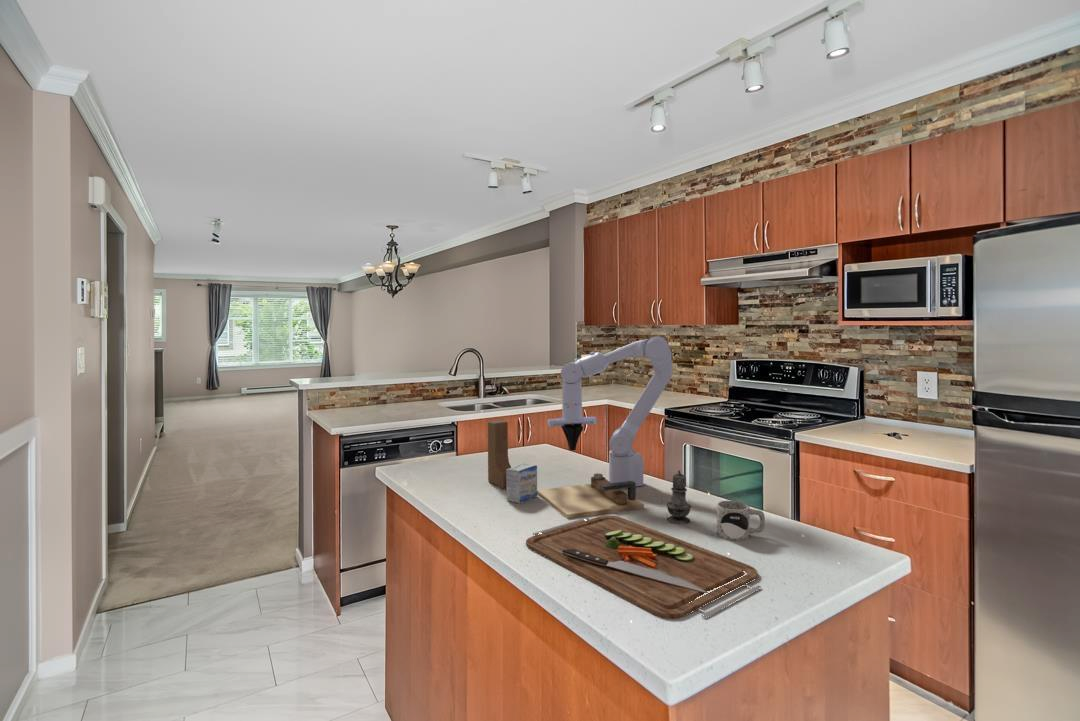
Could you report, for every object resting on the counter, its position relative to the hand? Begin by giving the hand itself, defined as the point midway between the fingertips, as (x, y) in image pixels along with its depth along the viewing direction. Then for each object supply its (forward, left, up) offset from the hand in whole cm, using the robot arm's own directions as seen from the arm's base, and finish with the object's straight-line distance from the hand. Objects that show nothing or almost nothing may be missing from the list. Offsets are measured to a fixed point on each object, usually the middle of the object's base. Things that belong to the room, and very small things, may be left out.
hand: (572, 449), depth 164 cm
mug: (-17, +52, -10) cm, 56 cm away
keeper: (-3, +24, -9) cm, 26 cm away
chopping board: (+11, +54, -10) cm, 56 cm away
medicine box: (+19, +10, -10) cm, 24 cm away
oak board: (+4, +18, -9) cm, 21 cm away
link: (-2, +18, -8) cm, 20 cm away
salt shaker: (-10, +39, -10) cm, 41 cm away
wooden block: (+20, -5, -10) cm, 23 cm away
